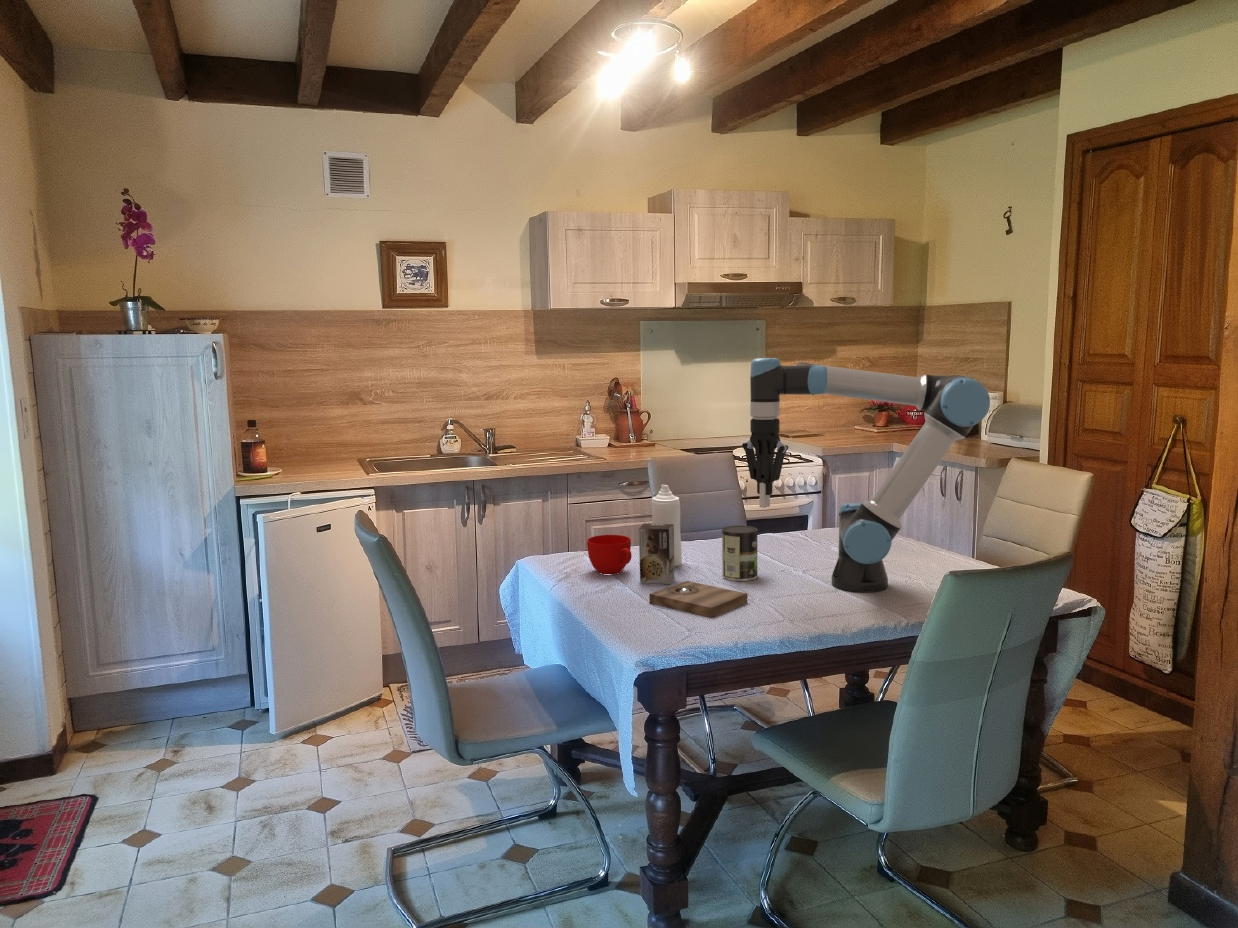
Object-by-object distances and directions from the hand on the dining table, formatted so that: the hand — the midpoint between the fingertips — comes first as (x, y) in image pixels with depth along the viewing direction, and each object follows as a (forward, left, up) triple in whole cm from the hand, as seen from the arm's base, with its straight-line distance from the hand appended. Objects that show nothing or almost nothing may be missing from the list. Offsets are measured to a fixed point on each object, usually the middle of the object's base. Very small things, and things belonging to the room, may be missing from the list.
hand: (764, 506), depth 248 cm
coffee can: (+16, -12, -25) cm, 32 cm away
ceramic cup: (+47, +8, -25) cm, 54 cm away
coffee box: (+32, +6, -25) cm, 41 cm away
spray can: (+41, -10, -25) cm, 49 cm away
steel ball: (+14, +16, -23) cm, 31 cm away
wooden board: (+10, +16, -24) cm, 31 cm away
